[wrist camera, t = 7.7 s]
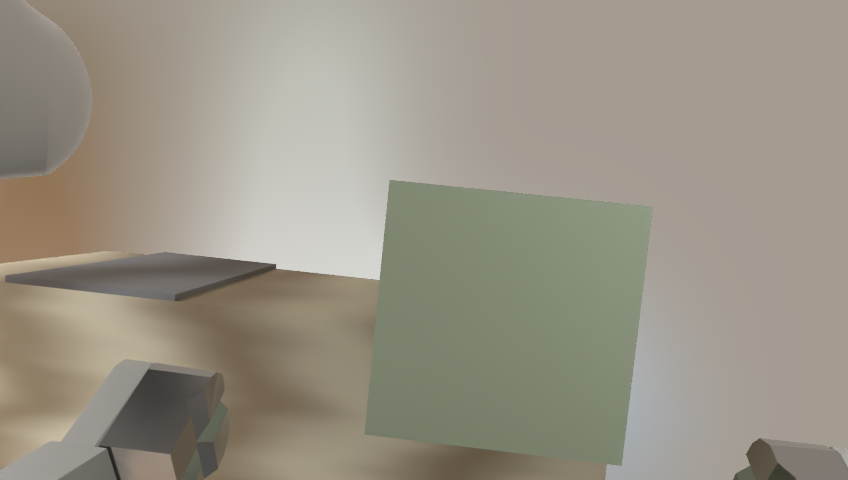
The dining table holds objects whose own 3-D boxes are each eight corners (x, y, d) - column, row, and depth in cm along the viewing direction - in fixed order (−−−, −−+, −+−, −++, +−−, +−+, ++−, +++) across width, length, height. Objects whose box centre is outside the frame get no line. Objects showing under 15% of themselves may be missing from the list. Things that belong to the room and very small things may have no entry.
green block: (364, 434, 9) (389, 179, 9) (433, 270, 33) (440, 201, 33) (620, 464, 9) (653, 206, 8) (502, 277, 33) (509, 208, 32)
